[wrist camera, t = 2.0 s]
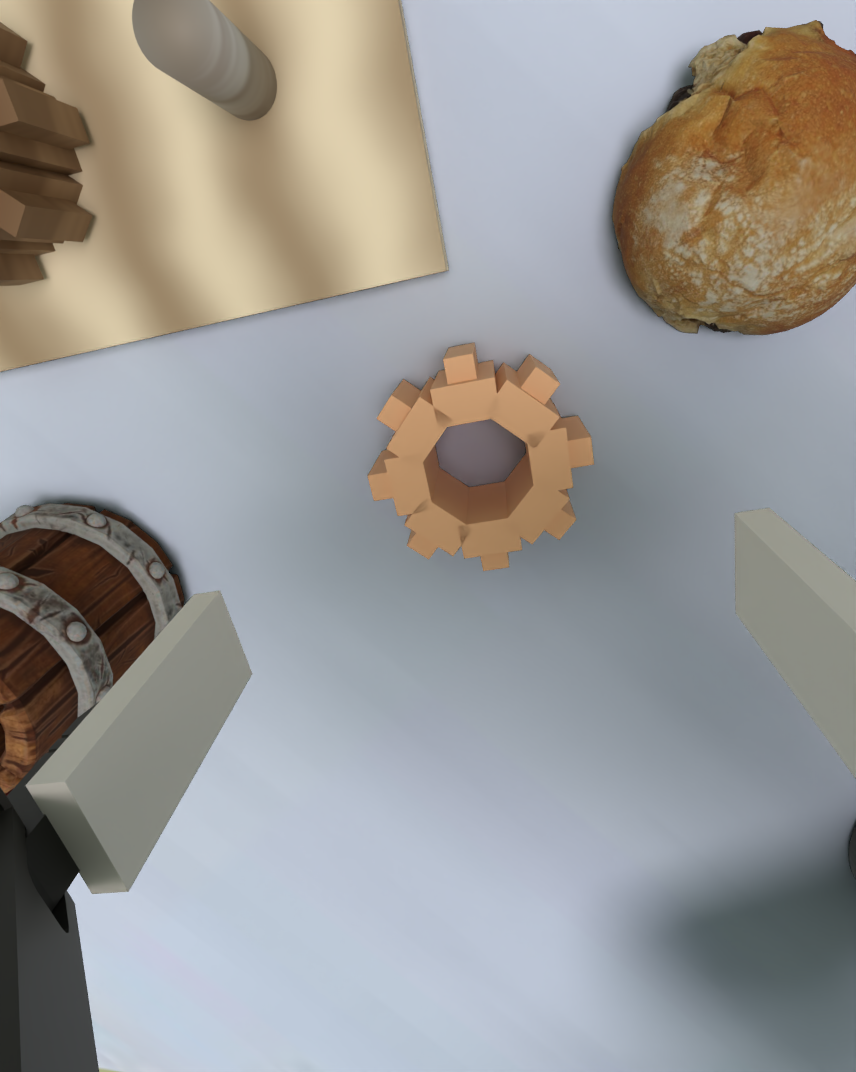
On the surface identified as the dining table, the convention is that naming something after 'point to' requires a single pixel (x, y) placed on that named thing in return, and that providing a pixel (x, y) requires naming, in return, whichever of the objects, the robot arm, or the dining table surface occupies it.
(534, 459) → the gear
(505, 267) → the dining table surface
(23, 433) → the dining table surface
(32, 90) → the peg board
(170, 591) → the mug
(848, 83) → the bread roll
